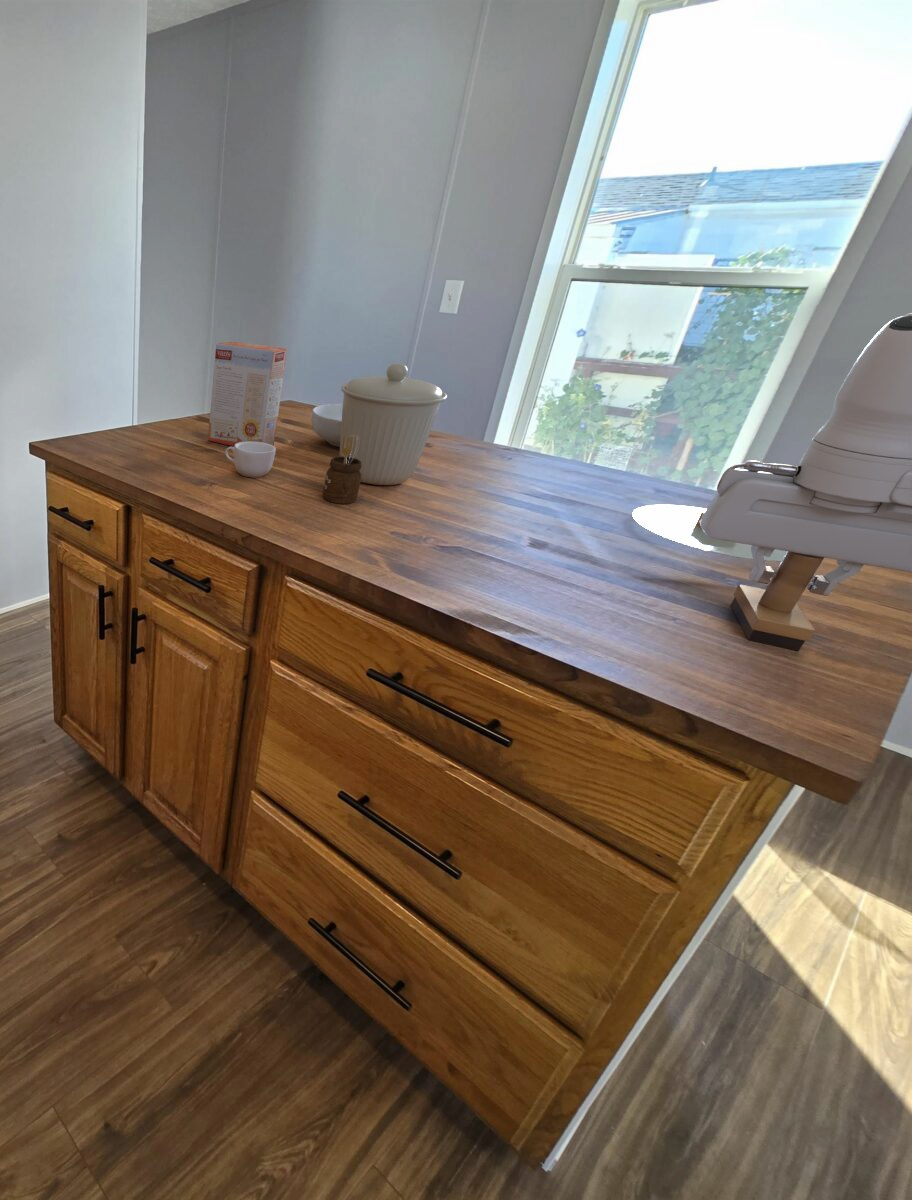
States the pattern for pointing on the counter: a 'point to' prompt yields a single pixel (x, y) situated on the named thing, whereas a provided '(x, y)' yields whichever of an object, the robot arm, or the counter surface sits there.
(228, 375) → the cracker box
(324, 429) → the cereal bowl
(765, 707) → the counter surface
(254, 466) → the teacup
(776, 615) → the brush
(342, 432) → the canister
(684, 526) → the disc
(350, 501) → the utensil holder
